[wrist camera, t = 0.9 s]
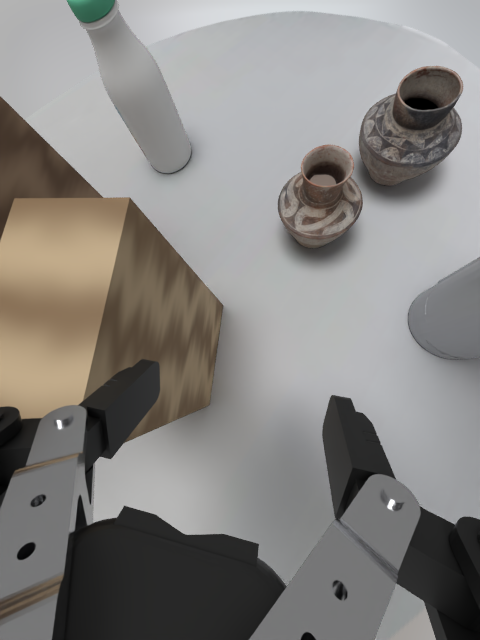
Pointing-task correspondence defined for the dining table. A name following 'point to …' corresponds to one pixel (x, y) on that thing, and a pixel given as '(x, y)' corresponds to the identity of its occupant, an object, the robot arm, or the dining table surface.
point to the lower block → (99, 308)
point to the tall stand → (32, 166)
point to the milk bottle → (135, 85)
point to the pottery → (375, 155)
